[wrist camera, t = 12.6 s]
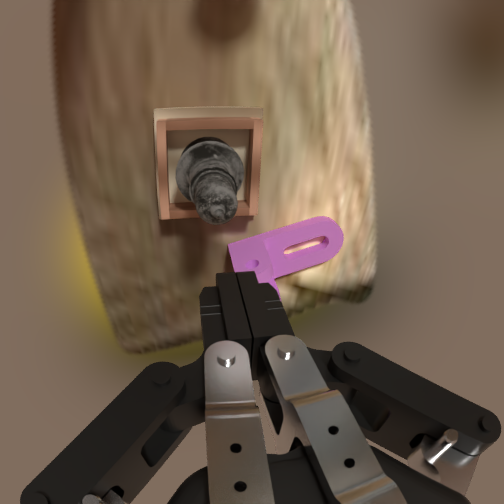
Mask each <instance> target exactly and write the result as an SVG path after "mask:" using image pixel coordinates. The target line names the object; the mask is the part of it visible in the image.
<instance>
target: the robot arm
mask: <svg viewBox="0 0 504 504" xmlns="http://www.w3.org/2000/svg"><path fill="white" fill-rule="evenodd" d="M199 299H200V314H201V327H202V336H203V345H204V351H203V354H202V355H201V356H200V358H199V359H197V360H196V361H195V362H193V363H191V364H189V365H186V366H183V367H180V368H179V367H178V366H177V365H175V364H173V363H169V362H156V363H153V364H151V365H149V366H148V367H146V368H145V369H144V370H143V371H142V372H141V373H140V374H139V375H138V376H137V377H136V378H135V379H134V380H133V381H132V382H131V383H130V384H129V385H128V386H127V387H126V388H125V389H124V390H123V391H122V392H121V393H120V394H119V395H118V396H117V397H116V398H115V399H114V400H113V401H112V402H111V403H110V404H109V405H108V406H107V407H106V408H105V409H104V410H103V411H102V412H101V413H100V414H99V415H98V416H97V417H96V418H95V419H94V420H93V421H92V422H91V423H90V424H89V425H88V426H87V427H86V428H85V429H84V430H83V431H82V432H81V433H80V434H79V435H78V436H77V437H76V438H75V439H74V440H73V441H72V442H71V443H70V444H69V445H68V446H67V447H66V448H65V449H64V450H63V451H62V452H61V453H60V454H59V455H58V456H57V457H56V458H55V459H54V460H53V461H52V462H51V463H50V464H49V465H48V466H47V467H46V468H45V469H44V470H43V471H42V472H41V473H40V474H39V475H38V476H37V477H36V478H35V479H34V480H33V481H32V482H31V483H30V484H29V485H27V486H26V488H25V489H24V490H23V492H22V494H21V498H20V504H130V503H131V502H132V501H133V499H134V498H135V497H136V496H137V495H138V494H139V492H140V491H141V490H142V489H143V488H144V487H145V485H146V484H147V483H148V482H149V480H150V479H151V478H152V477H153V476H154V475H155V473H156V472H157V471H158V470H159V469H160V467H161V466H162V465H163V464H164V462H165V461H166V460H167V459H168V458H169V456H170V455H171V454H172V453H173V451H174V450H175V449H176V448H177V447H178V445H179V444H180V443H181V442H182V440H183V439H184V438H185V436H186V435H187V434H188V433H189V431H190V430H191V428H192V426H195V425H197V424H200V423H202V422H205V424H206V447H207V466H206V467H204V468H202V469H200V470H198V471H196V472H195V473H193V474H192V475H190V476H189V477H188V478H187V479H186V480H185V481H184V482H183V483H182V484H181V485H180V487H179V488H178V489H177V491H176V492H175V493H174V495H173V496H172V497H171V499H170V500H169V502H168V503H167V504H471V503H470V502H469V500H468V499H467V498H466V497H465V494H466V492H467V489H468V487H469V484H470V481H471V479H472V476H473V473H474V471H475V468H476V465H477V462H478V459H479V456H480V454H481V453H482V452H484V451H485V450H486V449H487V448H488V447H489V446H491V445H492V444H493V443H494V442H495V441H496V440H497V439H498V438H499V436H500V433H501V424H500V421H499V420H498V418H497V416H496V415H495V414H494V413H492V412H491V411H489V410H487V409H485V408H483V407H481V406H479V405H476V404H475V403H473V402H470V401H469V400H466V399H464V398H462V397H460V396H458V395H456V394H454V393H452V392H450V391H449V390H447V389H444V388H443V387H440V386H439V385H437V384H435V383H433V382H431V381H429V380H427V379H425V378H423V377H421V376H419V375H417V374H415V373H413V372H411V371H409V370H407V369H405V368H404V367H402V366H400V365H398V364H396V363H394V362H392V361H390V360H388V359H386V358H385V357H383V356H381V355H379V354H377V353H375V352H373V351H371V350H370V349H368V348H366V347H364V346H362V345H360V344H358V343H354V342H343V343H340V344H338V345H336V346H335V347H334V349H333V351H323V350H316V349H311V348H308V347H306V345H305V344H304V343H303V341H301V340H300V339H299V338H297V337H295V335H294V332H293V330H292V327H291V325H290V323H289V320H288V317H287V315H286V312H285V310H284V309H283V305H282V302H281V301H280V297H279V295H278V292H277V290H276V289H275V288H274V287H273V286H272V285H270V284H269V283H259V282H258V279H257V277H256V274H255V271H244V272H236V273H235V272H230V273H216V286H214V287H204V288H203V290H202V292H201V294H200V296H199ZM252 380H258V381H259V385H260V392H259V397H260V401H261V404H262V406H263V409H264V412H265V415H266V418H267V420H268V423H269V426H270V429H271V431H272V434H273V437H274V440H275V448H276V454H266V447H265V441H264V435H263V429H262V423H261V416H260V411H259V407H258V406H256V403H255V397H254V390H253V383H252ZM366 438H367V439H369V440H371V441H372V442H374V443H376V444H378V445H380V446H382V447H384V448H385V449H387V450H389V451H391V452H393V453H395V454H397V455H399V456H400V457H402V458H404V459H406V460H407V461H408V466H407V465H405V464H403V463H401V462H400V461H398V460H396V459H394V458H393V457H391V456H389V455H387V454H386V453H384V452H382V451H380V450H379V449H377V448H375V447H373V446H370V445H369V444H368V442H367V440H366Z"/></svg>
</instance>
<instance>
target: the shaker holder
mask: <svg viewBox="0 0 504 504" xmlns="http://www.w3.org/2000/svg"><path fill="white" fill-rule="evenodd" d="M262 134H263V108H261V107H180V108H160V109H154V135H155V161H156V179H157V195H158V208H159V219H179V218H200V216H199V215H198V213H197V211H196V207H195V204H194V203H193V202H191V201H189V200H188V199H187V198H186V197H184V196H183V195H182V193H181V192H180V190H179V188H178V186H177V183H176V179H175V177H176V167H177V164H178V161H179V159H180V158H181V155H182V152H183V151H184V149H185V148H186V146H187V145H188V144H190V143H191V142H192V141H194V140H196V139H198V138H202V137H215V138H218V139H221V140H222V141H224V142H226V143H227V144H228V145H229V146H230V147H231V148H233V149H234V150H235V151H236V152H237V154H238V155H239V156H240V158H241V160H242V162H243V167H244V180H243V182H242V185H241V188H240V189H239V190H238V192H237V196H236V197H237V201H238V208H237V211H236V214H235V215H234V216H249V215H257V213H258V198H259V182H260V166H261V150H262Z"/></svg>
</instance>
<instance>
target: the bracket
mask: <svg viewBox="0 0 504 504" xmlns="http://www.w3.org/2000/svg"><path fill="white" fill-rule="evenodd" d="M320 236H325V239H324V241H323V242H322V243H320V244H318V245H314V246H311V247H308V248H305V249H302V250H299V251H296V252H293V253H290V254H284V253H283V252H284V250H285V249H286V248H287V247H289V246H292V245H295V244H298V243H301V242H304V241H307V240H310V239H314V238H317V237H320ZM342 244H343V232H342V230H341V228H340V227H339V226H338V225H337V223H336V222H335V221H334V220H332V219H331V218H329V217H325V216H318V217H314V218H311V219H307V220H304V221H301V222H298V223H294V224H291V225H288V226H285V227H282V228H278V229H275V230H272V231H269V232H265V233H262V234H259V235H256V236H253V237H249V238H246V239H243V240H240V241H237V242H234V243H230V244H228V248H229V252H230V256H231V260H232V264H233V268H234V271H235V273H236V272H244V271H255V274H256V277H257V279H258V282H259V283H269V284H270V285H272V286H273V287H274V288H275V289H276V290H277V292H278V295H279V297H280V294H279V290H278V287H277V285H276V283H275V280H274V279H275V278H277V277H280V276H283V275H286V274H290V273H293V272H296V271H299V270H302V269H305V268H308V267H311V266H314V265H317V264H320V263H323V262H326V261H328V260H330V259H331V258H333V257H334V256H335V255H336V254H337V253H338V252H339V250H340V249H341V247H342ZM280 301H281V298H280Z"/></svg>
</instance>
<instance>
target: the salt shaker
mask: <svg viewBox="0 0 504 504" xmlns="http://www.w3.org/2000/svg"><path fill="white" fill-rule="evenodd" d="M175 179H176V183H177V186H178V188H179V190H180V192H181V193H182V195H183V196H184V197H186V198H187V199H188V200H189V201H191V202H193V203H194V204H195V207H196V211H197V213H198V215H199V216H200V218H202V219H203V220H204V221H205V222H207V223H209V224H213V225H220V224H224V223H226V222H228V221H230V220H231V219H232V218H233V217H234V215H235V214H236V211H237V208H238V201H237V197H236V196H237V192H238V190H239V189H240V188H241V185H242V182H243V180H244V167H243V162H242V160H241V158H240V156H239V155H238V154H237V152H236V151H235V150H234V149H233V148H231V147H230V146H229V145H228V144H227V143H226V142H224V141H222V140H221V139H218V138H215V137H202V138H198V139H196V140H194V141H192V142H191V143H190V144H188V145H187V146H186V148H185V149H184V151H183V152H182V155H181V158H180V159H179V161H178V164H177V167H176V177H175Z"/></svg>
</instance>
